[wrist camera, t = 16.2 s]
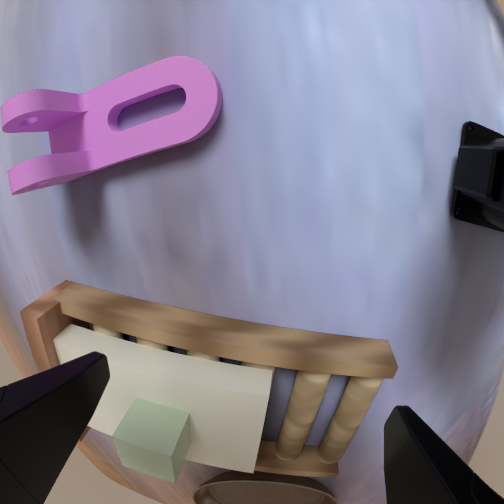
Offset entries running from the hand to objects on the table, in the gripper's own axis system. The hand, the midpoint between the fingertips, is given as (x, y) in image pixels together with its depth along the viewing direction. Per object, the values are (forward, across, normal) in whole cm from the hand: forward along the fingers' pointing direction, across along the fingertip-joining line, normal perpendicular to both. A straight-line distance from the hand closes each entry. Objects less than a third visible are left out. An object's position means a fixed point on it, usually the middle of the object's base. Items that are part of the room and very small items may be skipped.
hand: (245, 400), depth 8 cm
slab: (+10, +7, +12) cm, 17 cm away
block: (+7, +6, +12) cm, 15 cm away
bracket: (+12, +11, -8) cm, 18 cm away
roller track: (+12, +3, +12) cm, 17 cm away
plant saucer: (+12, -4, +31) cm, 34 cm away
